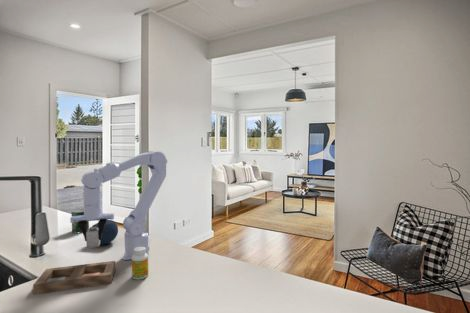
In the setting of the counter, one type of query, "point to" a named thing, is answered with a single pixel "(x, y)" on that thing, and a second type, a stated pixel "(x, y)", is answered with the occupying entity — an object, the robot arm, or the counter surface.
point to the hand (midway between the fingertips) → (93, 239)
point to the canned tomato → (75, 225)
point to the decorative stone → (108, 232)
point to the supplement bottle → (139, 263)
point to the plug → (92, 237)
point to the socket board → (74, 277)
